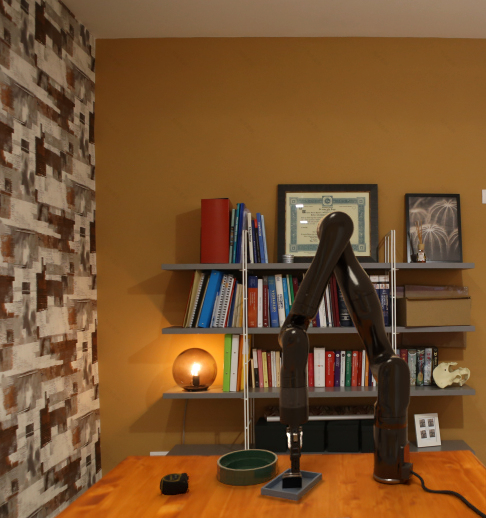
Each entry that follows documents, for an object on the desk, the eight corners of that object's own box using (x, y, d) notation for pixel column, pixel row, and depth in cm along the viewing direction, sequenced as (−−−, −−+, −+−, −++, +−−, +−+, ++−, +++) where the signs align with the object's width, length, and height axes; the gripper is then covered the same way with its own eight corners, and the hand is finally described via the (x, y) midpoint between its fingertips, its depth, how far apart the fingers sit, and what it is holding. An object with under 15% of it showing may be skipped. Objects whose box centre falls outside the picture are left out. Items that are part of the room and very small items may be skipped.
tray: (322, 481, 132) (322, 473, 132) (297, 503, 118) (297, 494, 118) (288, 475, 135) (288, 468, 135) (260, 496, 122) (260, 488, 122)
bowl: (287, 469, 140) (288, 453, 140) (257, 492, 124) (257, 473, 125) (239, 462, 145) (239, 446, 145) (204, 482, 130) (204, 465, 130)
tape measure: (188, 496, 122) (188, 480, 122) (158, 499, 120) (158, 483, 120) (188, 485, 128) (189, 470, 129) (160, 488, 126) (161, 473, 126)
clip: (301, 483, 128) (301, 471, 128) (301, 487, 126) (302, 475, 126) (282, 485, 127) (282, 472, 128) (282, 488, 125) (282, 476, 125)
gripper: (310, 409, 121) (311, 476, 121) (306, 395, 135) (307, 455, 135) (279, 411, 120) (280, 478, 119) (279, 397, 134) (279, 457, 133)
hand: (294, 466), depth 127 cm, fingers open, 8 cm apart
